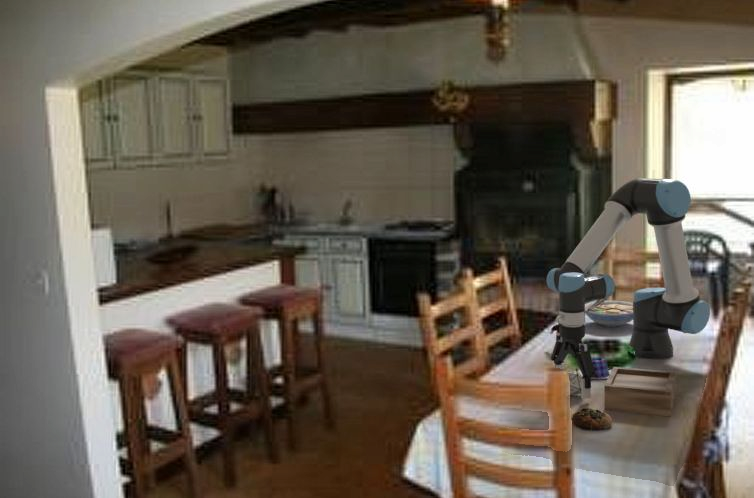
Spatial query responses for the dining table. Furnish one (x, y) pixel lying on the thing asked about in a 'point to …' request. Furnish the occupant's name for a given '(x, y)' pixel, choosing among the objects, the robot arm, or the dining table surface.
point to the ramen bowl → (609, 312)
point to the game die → (575, 382)
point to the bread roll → (591, 419)
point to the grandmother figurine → (556, 326)
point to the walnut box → (640, 391)
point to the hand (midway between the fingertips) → (572, 391)
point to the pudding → (600, 368)
